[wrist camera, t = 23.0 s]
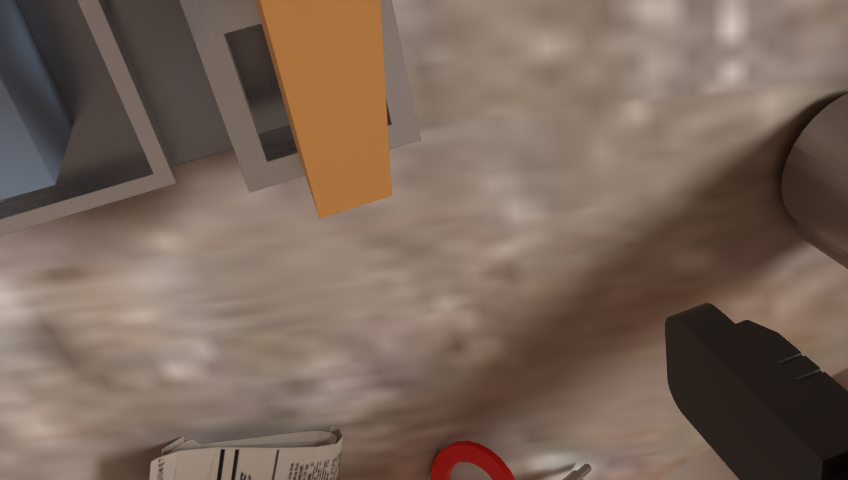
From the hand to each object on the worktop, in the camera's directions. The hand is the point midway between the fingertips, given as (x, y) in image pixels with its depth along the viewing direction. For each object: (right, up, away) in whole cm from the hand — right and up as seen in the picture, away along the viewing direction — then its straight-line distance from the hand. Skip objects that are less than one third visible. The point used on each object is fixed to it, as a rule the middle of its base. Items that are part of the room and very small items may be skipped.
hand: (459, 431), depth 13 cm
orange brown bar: (-4, +6, +15) cm, 17 cm away
